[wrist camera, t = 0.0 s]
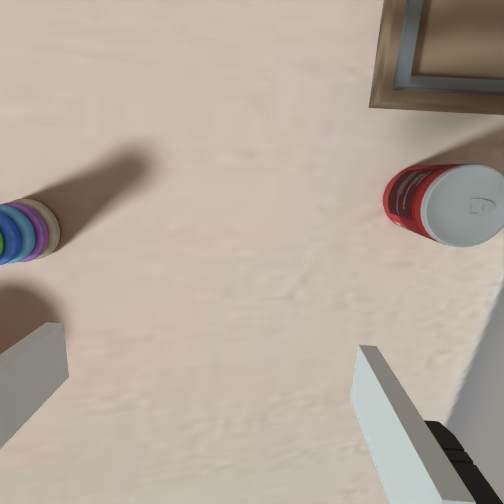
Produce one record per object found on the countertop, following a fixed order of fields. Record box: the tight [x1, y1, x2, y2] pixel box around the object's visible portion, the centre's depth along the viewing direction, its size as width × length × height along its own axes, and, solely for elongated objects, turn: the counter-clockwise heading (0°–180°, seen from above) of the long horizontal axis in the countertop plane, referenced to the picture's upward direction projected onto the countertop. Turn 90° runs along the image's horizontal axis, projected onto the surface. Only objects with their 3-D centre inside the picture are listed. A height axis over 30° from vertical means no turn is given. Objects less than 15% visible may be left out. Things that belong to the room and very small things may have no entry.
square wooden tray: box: [369, 0, 504, 115], centre depth 32 cm, size 16×16×6 cm
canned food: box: [383, 164, 504, 247], centre depth 34 cm, size 8×8×11 cm
